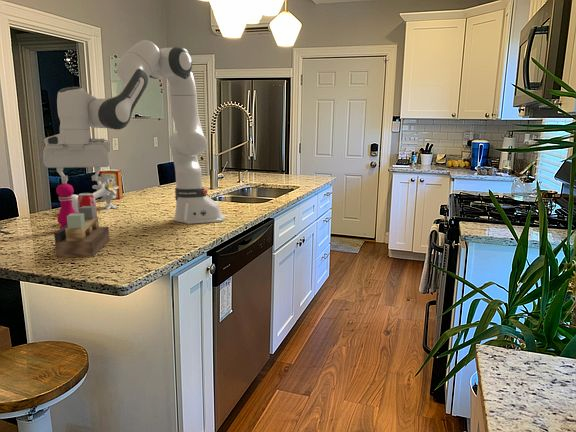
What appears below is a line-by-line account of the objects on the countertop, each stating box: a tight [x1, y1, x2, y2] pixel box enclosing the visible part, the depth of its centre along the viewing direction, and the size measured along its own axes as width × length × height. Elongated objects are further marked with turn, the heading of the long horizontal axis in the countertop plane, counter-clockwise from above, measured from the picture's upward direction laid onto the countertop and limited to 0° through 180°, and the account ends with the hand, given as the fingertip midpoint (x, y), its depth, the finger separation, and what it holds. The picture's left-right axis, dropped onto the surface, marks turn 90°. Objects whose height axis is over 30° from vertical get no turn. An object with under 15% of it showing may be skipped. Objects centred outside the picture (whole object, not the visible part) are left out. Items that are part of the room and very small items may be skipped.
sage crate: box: [67, 213, 85, 228], centre depth 140 cm, size 4×4×4 cm
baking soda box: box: [99, 169, 124, 201], centre depth 242 cm, size 10×6×16 cm
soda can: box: [77, 192, 98, 217], centre depth 187 cm, size 7×7×12 cm
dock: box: [53, 224, 110, 258], centre depth 148 cm, size 11×20×8 cm, turn 8°
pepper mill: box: [55, 180, 76, 230], centre depth 171 cm, size 7×7×20 cm
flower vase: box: [72, 174, 119, 213], centre depth 209 cm, size 13×18×25 cm
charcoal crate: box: [79, 206, 96, 220], centre depth 153 cm, size 4×4×4 cm
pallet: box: [65, 216, 100, 241], centre depth 147 cm, size 5×18×4 cm, turn 8°
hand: (80, 181), depth 144 cm, fingers open, 8 cm apart
